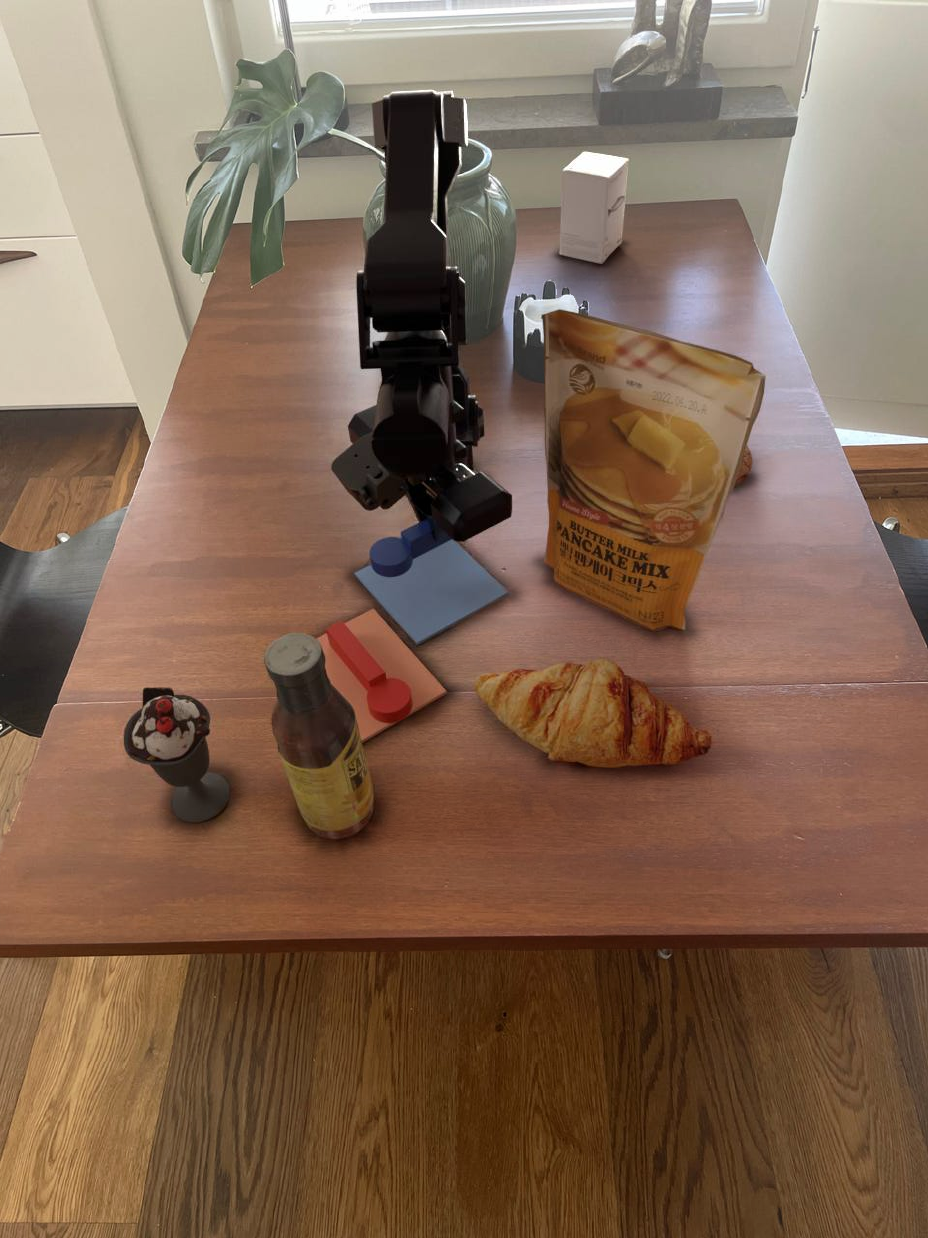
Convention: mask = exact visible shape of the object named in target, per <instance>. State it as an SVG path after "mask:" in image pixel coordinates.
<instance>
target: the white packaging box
mask: <svg viewBox="0 0 928 1238" xmlns="http://www.w3.org/2000/svg"><path fill="white" fill-rule="evenodd" d="M628 171H629V158H626V157H621V156H620V157H619V156H613V155H608V154H602V153H595V152H589V151H583V152H582V153H580V154H579V155H578V156H577V157H576V158H575V159H573V160H572V161H571V162H570V163H569V164H568V165H567V166H566V167H565V168H563V169H562V171H561V175H562V176H561V196H560V198H561V199H560V200H561V201H560V227H559V229H560V231H559V252H558V253H559V255H560V256H564V257H568V258H573V259H577V260H582V261H585V262H586V261H587V262H591V263H595V264H600V265H603V263H604V262H605V261H606V260H607V259H608V257H610V255H611V254H612V253H613V252H614V251H616V250H617V248H618V247H619V246H620V245H621V244H622V241H623V232H624V221H625V220H624V219H625V207H626V196H627V184H628V183H627V182H628ZM621 238H622V239H621ZM620 239H621V240H620ZM619 240H620V241H619ZM618 241H619V242H618ZM617 242H618V243H617ZM606 254H607V255H606ZM588 255H589V256H588ZM605 255H606V256H605Z"/></svg>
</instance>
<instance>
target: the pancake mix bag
mask: <svg viewBox="0 0 928 1238" xmlns="http://www.w3.org/2000/svg"><path fill="white" fill-rule="evenodd" d="M540 316H541V320H542V330H543V332H542V333H543V374H544V402H543V404H544V405H543V406H544V407H543V413H544V456H545V463H546V484H547V486H546V487H547V500H546V501H547V508H548V528H547V529H548V530H547V535H546V536H547V537H546V546H545V552H544V555H543V558H542V562H543V563H544V564H545V565H547V566H548V567H549V568H551V569H553V581H554V582H555V583H556V584H559V586H560V587H562V588H563V589H565V590H566V591H569V592H571V593H573V594H574V595H577V596H579V597H581V598H582V599H585V600H586V601H588V602H591V603H593V604H594V605H597V606H598V607H601V608H603V609H605V610H608V611H609V612H612V613H614V614H616V615H618V616H620V617H621V618H623V619H625V620H627V621H629V622H631V623H633V624H635V625H636V626H640V627H642V628H644V629H647V630H649V631H652V632H655V633H656V632H659V631H662V630H664V629H667V628H669V627H670V628H674V629H678V630H683V631H686V615H685V608H686V606H687V604H688V603H689V600H690V598H691V595H692V594H693V591H694V589H695V586H696V585H697V582H698V580H699V578H700V575H701V571H702V569H703V566H704V563H705V560H706V558H707V554H708V553H709V550H710V547H711V545H712V543H713V540H714V538H715V535H716V532H717V530H718V528H719V526H720V523H721V521H722V518H723V516H724V513H725V510H726V506H727V503H728V501H729V499H730V497H731V495H732V493H733V491H734V489H735V486H736V485H735V482H736V479H737V476H738V472H739V469H740V466H741V462H742V459H743V456H744V452H745V449H746V446H748V442H749V439H750V436H751V433H752V430H753V427H754V424H755V423H756V420H757V419H758V415H759V414H760V411H761V407H762V403H763V399H764V394H765V387H766V375H765V374H764V373H762V372H760V371H759V370H757V369H756V368H755V366H754V364H753V362H752V361H748V360H747V359H744V358H742V357H740V356H737V355H736V354H732V353H728V352H725V351H721V350H719V349H714V348H710V347H706V346H703V345H699V344H695V343H690V342H687V341H683V340H680V339H676V338H673V337H670V336H667V335H664V334H661V333H658V332H655V331H652V330H649V329H645V328H641V327H637V326H633V325H630V324H625V323H621V322H618V321H617V322H616V321H612V320H609V319H605V318H600V317H596V316H592V315H588V314H584V313H579V312H575V311H570V310H567V309H562V308H559V309H555V310H553V311H550V312H546V313H543V314H541V315H540Z"/></svg>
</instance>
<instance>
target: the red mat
mask: <svg viewBox="0 0 928 1238" xmlns="http://www.w3.org/2000/svg"><path fill="white" fill-rule="evenodd" d="M344 623H345V625H346V626H347V627H348V628H349V629H350V631H351V632H352V633H353V634H354V635H355V637H356V638H357V639H358V640H359V641H360V642H361V644H362V645H363V646H364V647H365V648H366V650H367V651H368V652H369V653H370V654H371V656H372V657H373V658H374V659H375V660H376V661H377V663H378V664H379V665H380V666H381V667H382V669H383V670H384V671H385V672H386V678H397V679H400V680H402V681H404V682H405V683H406V684H407V685H408V686H409V688H410V690H411V696H412V702H413V705H412V709H411V711H410V713H409V714H408V715H407V716H406V717H405V718H407V717H409V716H410V715H413V714H414V713H415V712H418V711H419V710H421V709H422V708H425V707H426V706H428V705H429V704H432V702H435V701H436V700H438V699H440V698H441V697H443V696H445V695H446V694H447V690H446V689H445V688H444V687H443V685H442V684H441V683H440V682H439V680H437V678H436V677H435V676H434V675H433V674H432V673H431V672H430V671H429V670H428V668H427V667H426V666H425V665H424V664H423V663H422V662H421V660H420V659H419V658H418V657H417V656H416V655H415V654H414V653H413V651H412V650H411V649H410V648H409V647H408V646H407V645H406V643H405V642H404V641H403V640H402V639H401V637H399V635H397V634H396V632H395V631H394V630H393V629H392V627H390V625H388V623H387V622H386V621H385V620H384V619H383V618H382V616H380V614H379V613H378V612H377V611H376V610H375V608H372V609H370V610H368V611H366V612H364V613H362V614H360V615H358V616H356V617H354V618H352V619H351V620H348V621H347V622H344ZM316 639H317V640H318V641H319V643H320V644H321V646H322V649H323V652H324V655H325V660H326V662H325V669H326V673H327V676H328V678H329V680H330V683H331V684H332V685H333V686H334V687H335V688H336V689H337V690H338V691H339V693H340V694H341V695H342V696H343V697H344V698H345V699H346V700H347V701H348V702H349V703H350V704H351V705H352V707H353V709H354V712H355V716H356V720H357V724H358V728H359V732H360V736H361V740H362V744H363V743H365V742H366V741H368V740H369V739H371V738H373V737H374V736H377V735H379V734H380V733H382V732H383V731H385V730H387V729H389V728H390V727H392V726H394V725H395V724H397V723H399V722H400V721H398V722H395V723H383V722H380V721H378V720H376V719H375V718H374V717H373V716H372V715H371V714H370V711H369V707H368V703H367V693H368V692H367V690H366V689H365V688H364V687H363V685H362V684H361V683H360V682H359V680H358V679H357V678H356V677H355V676H354V674H353V673H352V672H351V671H350V669H349V668H348V667H347V666H346V664H345V663H344V662H343V661H342V659H341V658H340V657H339V656H338V655H337V653H336V652H335V651H334V650H333V648H332V647H331V646H330V644H329V640H328V636H327V632H326V633H324V634H322V635H320V636H319V637H316Z"/></svg>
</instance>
